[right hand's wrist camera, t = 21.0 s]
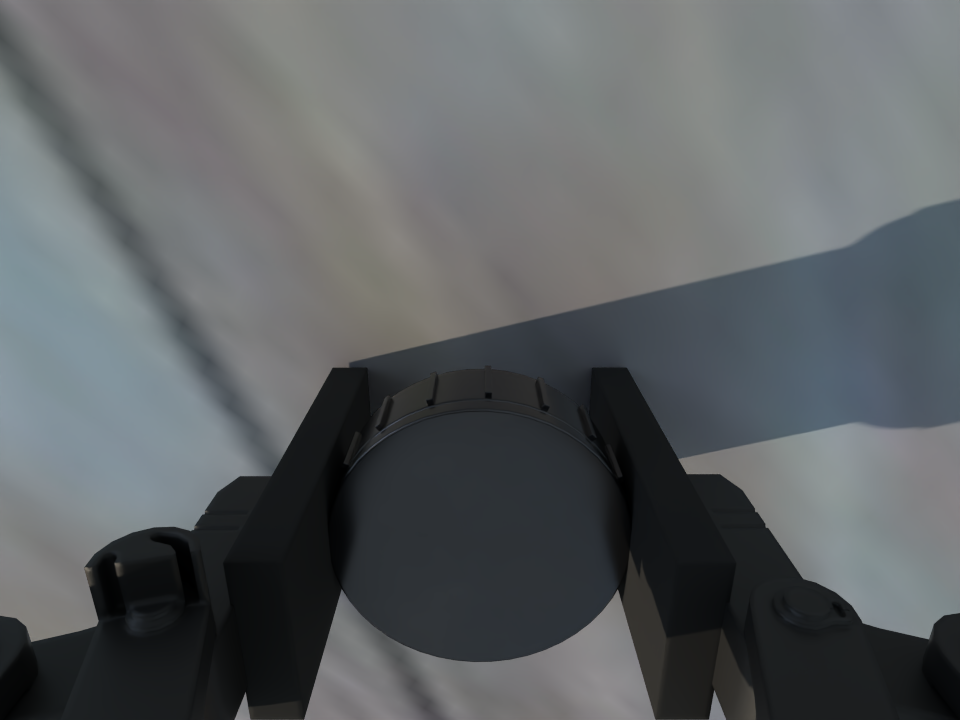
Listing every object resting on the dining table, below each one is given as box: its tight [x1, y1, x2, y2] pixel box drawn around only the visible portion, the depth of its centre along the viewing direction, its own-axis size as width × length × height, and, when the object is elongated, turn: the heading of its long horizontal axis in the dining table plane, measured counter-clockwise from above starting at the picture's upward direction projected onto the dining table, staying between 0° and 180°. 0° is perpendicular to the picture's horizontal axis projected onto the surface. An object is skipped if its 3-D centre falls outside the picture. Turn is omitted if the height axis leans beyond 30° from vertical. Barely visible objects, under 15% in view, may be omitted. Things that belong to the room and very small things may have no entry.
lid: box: [328, 366, 632, 662], centre depth 11 cm, size 5×5×2 cm
